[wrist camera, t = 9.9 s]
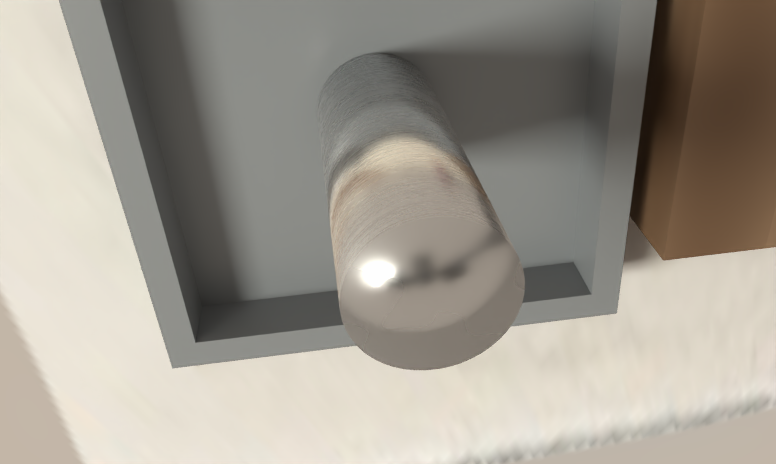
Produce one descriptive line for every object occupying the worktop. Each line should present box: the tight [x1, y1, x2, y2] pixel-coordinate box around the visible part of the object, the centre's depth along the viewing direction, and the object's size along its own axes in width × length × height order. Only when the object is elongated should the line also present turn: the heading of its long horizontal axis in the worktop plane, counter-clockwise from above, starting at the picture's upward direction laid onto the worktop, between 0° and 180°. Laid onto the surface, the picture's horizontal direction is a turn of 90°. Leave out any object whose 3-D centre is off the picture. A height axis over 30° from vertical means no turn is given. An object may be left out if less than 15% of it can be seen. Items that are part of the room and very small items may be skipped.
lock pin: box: [317, 53, 525, 370], centre depth 15 cm, size 3×3×8 cm
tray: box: [59, 0, 657, 368], centre depth 18 cm, size 13×13×2 cm
